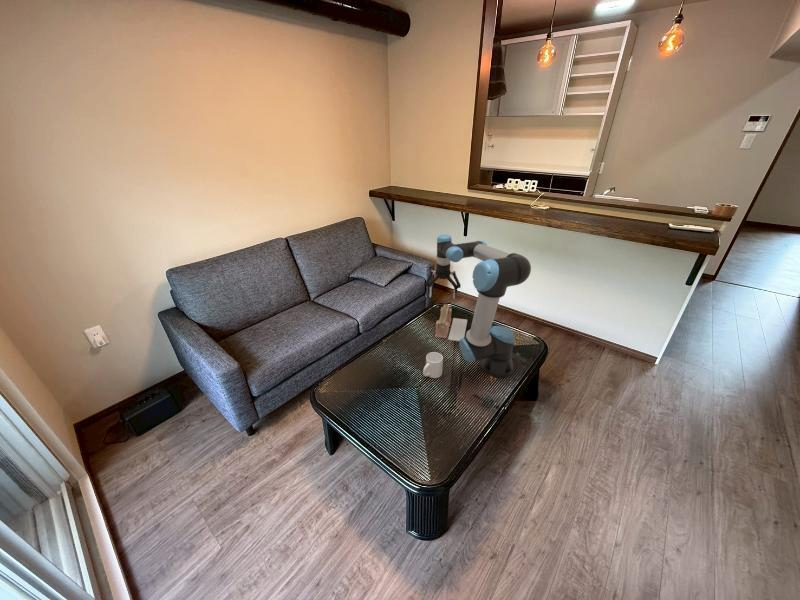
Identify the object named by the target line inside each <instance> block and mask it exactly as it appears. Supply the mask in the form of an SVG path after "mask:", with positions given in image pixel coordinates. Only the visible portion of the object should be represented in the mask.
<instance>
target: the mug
mask: <svg viewBox="0 0 800 600" xmlns="http://www.w3.org/2000/svg"><path fill="white" fill-rule="evenodd" d="M443 361H444V356H443V355H442V354H441V353H440V352H436V351H432V352H428V353H426V357H425V365H424V366H423V371H422V374H423V376H424V377H428V378H431V379H439V378H440V377H441V376H442V374H443V369H444V368H443V363H444V362H443Z"/></svg>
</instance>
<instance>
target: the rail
mask: <svg viewBox="0 0 800 600" xmlns="http://www.w3.org/2000/svg"><path fill="white" fill-rule="evenodd" d="M442 307H443V310H442V313H441V316H439V319H438V320H439V322H438V328H443V329H444V327H445V323H446V320H447V317H448V313H449V310H450V308H451V306H450V305H449V304H443V306H442Z"/></svg>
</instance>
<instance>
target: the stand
mask: <svg viewBox="0 0 800 600" xmlns="http://www.w3.org/2000/svg"><path fill="white" fill-rule="evenodd" d="M443 307H444V306H441V307H440V314H439V315H440V316H441V313H442V310H443ZM440 316H439V317H440ZM452 321H453V318H452V308H451V307H450V308H449V313H448V317H447V320H446V323H445V327H444V329H443V328H438V322H439V319H438V320H436V323H435V334H434V336H435V338H442V339H448V336H449V332H450V328H451V325H452ZM449 327H450V328H449Z"/></svg>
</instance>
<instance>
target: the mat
mask: <svg viewBox="0 0 800 600" xmlns="http://www.w3.org/2000/svg"><path fill="white" fill-rule="evenodd" d="M467 324H468V319H466V318H465V319H464V318H457V317H453V318H452V321H451V325H450V328H449V332H448V336H447V340H448V341H451V342H452V341H454V342H459V340H460V339H462V338H465V337H466V332H467Z"/></svg>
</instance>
